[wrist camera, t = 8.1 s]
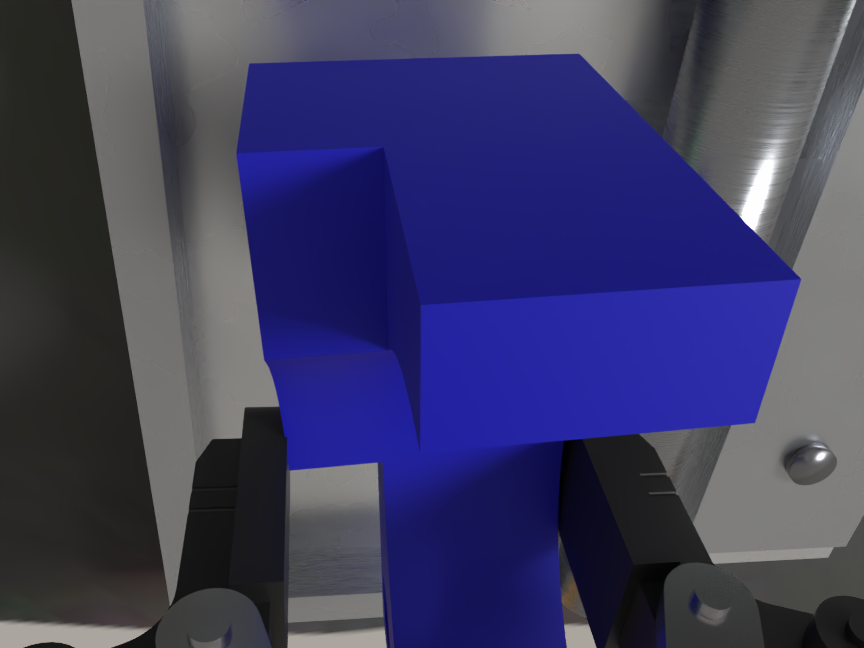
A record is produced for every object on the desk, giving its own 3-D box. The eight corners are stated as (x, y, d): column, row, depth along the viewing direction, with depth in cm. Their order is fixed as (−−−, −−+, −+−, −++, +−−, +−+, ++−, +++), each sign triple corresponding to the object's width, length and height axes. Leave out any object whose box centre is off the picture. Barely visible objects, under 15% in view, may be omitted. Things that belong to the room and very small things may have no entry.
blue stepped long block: (248, 63, 11) (213, 318, 6) (578, 53, 11) (801, 279, 6) (314, 619, 17) (322, 950, 13) (516, 596, 18) (599, 905, 13)
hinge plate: (1144, -113, 15) (1330, -83, 12) (811, 532, 25) (872, 626, 23) (83, -208, 12) (18, -198, 10) (188, 561, 22) (171, 673, 20)
